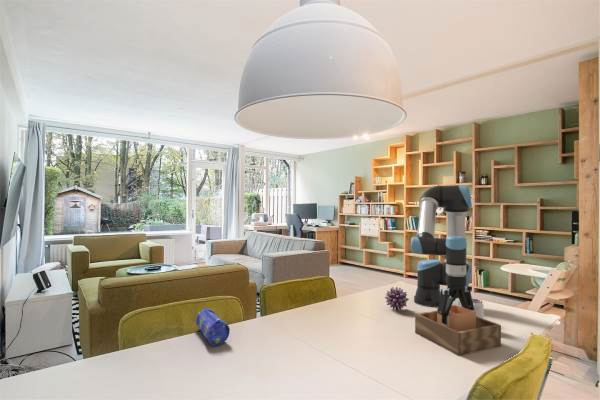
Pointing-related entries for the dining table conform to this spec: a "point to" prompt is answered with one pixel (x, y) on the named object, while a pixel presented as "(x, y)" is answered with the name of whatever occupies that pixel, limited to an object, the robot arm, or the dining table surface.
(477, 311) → the can
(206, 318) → the pencil case
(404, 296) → the purple spiky ball
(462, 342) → the large crate
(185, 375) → the dining table surface
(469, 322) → the small crate
